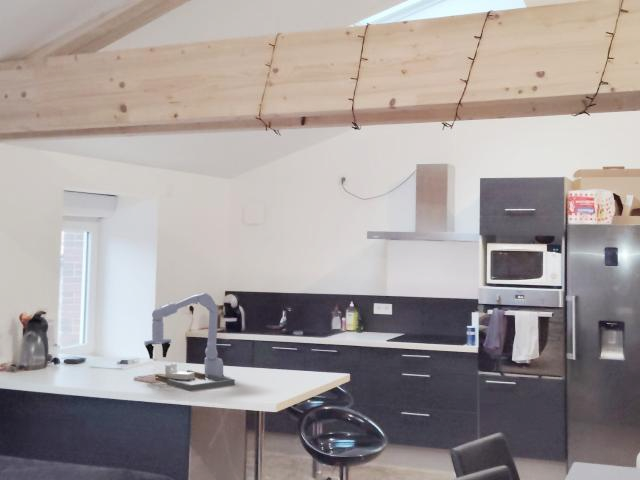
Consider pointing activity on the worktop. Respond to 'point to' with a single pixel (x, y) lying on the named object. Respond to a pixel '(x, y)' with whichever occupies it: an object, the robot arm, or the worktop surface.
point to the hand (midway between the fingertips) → (157, 357)
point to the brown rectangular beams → (164, 378)
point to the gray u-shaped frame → (219, 382)
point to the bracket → (177, 373)
